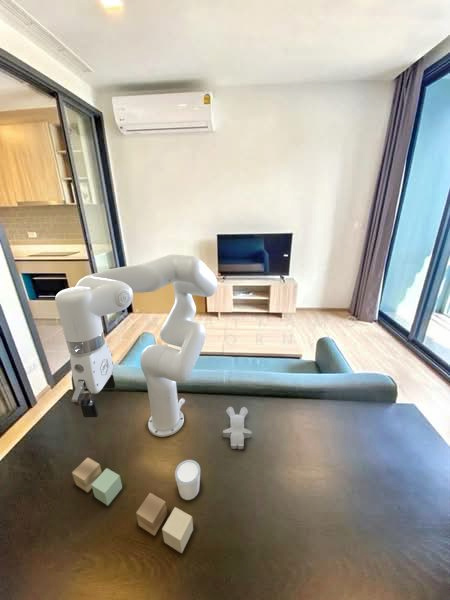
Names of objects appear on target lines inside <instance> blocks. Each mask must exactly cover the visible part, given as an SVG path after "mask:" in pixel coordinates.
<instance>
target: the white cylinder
mask: <svg viewBox="0 0 450 600" xmlns="http://www.w3.org/2000/svg"><path fill="white" fill-rule="evenodd" d="M174 478H175V482H176V486H177V489H178V494H179V496H180V497H181V498H182V499H183V500H185V501H190V500H193V499H195V498H196V496H197V495H198V494H199V492H200V483H201V481H200V480H201V467H200V464H199V463H198V462H197V461H195V460H193V459H185V460H183V461H181V462H180V463H179V464H178V465H177V466H176V468H175V471H174Z"/></svg>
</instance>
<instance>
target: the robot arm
mask: <svg viewBox="0 0 450 600" xmlns="http://www.w3.org/2000/svg"><path fill="white" fill-rule="evenodd" d="M217 279H218V278H217V277H216V275H215V273H214V272H213V271H212V270H211V269H210V268H209V267H208V265H206V263H205V262H204V261H202V260H201V258H199V257H197V256H194V255H183V254H168V255H164V256H162V257H159V258H156V259H153V260H150V261H147V262H144V263H137V264H131V265H127V266H121V267H113V268H109V269H105V270H101V271H98V272H95V273H92V274H89V275H88V274H87V275H86V276H84V277H83V278H80V280H78V281H77V283H76V285H75V287H69V288H65V289H62V290H60V291H59V292H58V293H57V294H56V296H55V298H54V302H55V305H56V310H57V313H58V317H59V320H60V324H61V328H62V331H63V332H62V333H63V335H64V339H65V342H66V346H67V349H68V353H69V359H70V369H71V375H72V381H73V384H74V387H75V389H74V392H73V395H72V397H71V402H72V403H73V404H74V405H75V406H76V407H80V409H81V412H82V415H83V418H98V416H99V411H98V407H97V403H96V401H94V399H95V395H96V394H99V393H100V392H101V391H102V390H103V389H115V387H116V382H115V377H114V371H115V364H114V359H113V353H111V349H110V347H109V343H108V341H107V339H106V337H105V333H104V332H105V331H104V327H103V323H102V317H104V316H107V315H112V314H117V313H120V312H122V311H124V310H126V309H127V308H129V306H130V305H131V304H132V303H133V300H134V293H135V294H136V293H137V294H143V293H145V294H146V293H154V292H157V291H158V290H160V289H163V288H165V287H167V286H168V285H171V284H172V287H173V292H174V293H173V294H174V303H173V306H172V308H171V309H170V311H169V314H168V316H167V317H166V319H165V320H164V323H163V324H162V327H161V329H160V330H159V338H160V339H161V341H163V342H164V343H165V344H168V345H171V346H175V347H178V348H180V349H177V348H174V347H171V346H168V345H164V344H159V343H153V344H149V345H146V347H145V348H143V351H141V353H140V358H139V361H140V362H139V363H140V368H141V371H142V373H143V375H144V378H145V381H146V388H147V393H148V394H147V395H148V401H149V407H150V415H151V416H150V417H149V419H148V423H147V427H148V430H149V432H150V433H151V434H152V435H154V436H155V437H159V438H160V437H161V438H164V437H170V436H173V435H174V434H176V433H177V432H178V431H180V429H182V428H183V427H182V426H183V425H184V421H185V418H184V417H185V416H184V413H183V412H182V411H181V408H182V406H183V405H184V404H185V402H186V400H185V398H183V397H182V398H180V399H178V388H177V383H184V382H185V381H187V380H188V379H189V378H190V376H191V375H192V372H193V370H194V369H195V366H196V363H197V361H198V359H199V357H200V355H201V352H202V350H203V348H204V345H205V342H206V338H207V330H206V327H205V326H204V325H203V323H200V322H198V321H194V318H195V317H196V314H197V306H196V303H195V300H194V298H193V296H198V297H205V298H210V297H212V296H214V295H215V294H216V292H217V290H218V280H217ZM86 389H87V390H86ZM86 394H88V399H85V395H86Z"/></svg>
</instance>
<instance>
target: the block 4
mask: <svg viewBox="0 0 450 600" xmlns="http://www.w3.org/2000/svg"><path fill="white" fill-rule="evenodd" d="M161 530H162V532H161V533H162V538H163V542H164V543H165V545H168V546H169V547H170V548H172V549H174V550H175V551H177V552H179V553H180V554H183V552H184V550H185V548H186V546H187V544H188V542H189V539H190V538H191V535H192V533H193V531H194V519H193V516H192V515H190V514H188V513H187V512H185V511H183V510H182V509H179V508H178V507H176V506H174V508H173V509H172V511H171V513H170V515H169V516H168V517H167V520H166V522H165V523H164V525H163V526H162V528H161Z"/></svg>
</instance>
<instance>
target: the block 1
mask: <svg viewBox="0 0 450 600" xmlns="http://www.w3.org/2000/svg"><path fill="white" fill-rule="evenodd" d="M102 473H103V471H102V468H101V464H100V463H98V462H97V461H95V460H93V459H92V458H90V457H86V458H85V459H84V460H83V461H82V462H81V463H80V464H79V465H78V466H77V467H76V468H75V469H74V470H72V471H71V474H72V478H73V480H74V484H75V486H77V487H78V488H80V489H82V490H83V491H85V492H86V493H89V492H90V491H91V490H92V486H91V485H92V483H93V482H94V481H95V480H96V479H97V478H98V477H99V476H100V475H101V474H102Z"/></svg>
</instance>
